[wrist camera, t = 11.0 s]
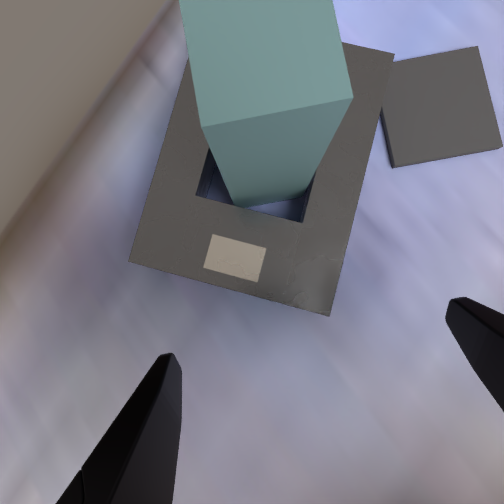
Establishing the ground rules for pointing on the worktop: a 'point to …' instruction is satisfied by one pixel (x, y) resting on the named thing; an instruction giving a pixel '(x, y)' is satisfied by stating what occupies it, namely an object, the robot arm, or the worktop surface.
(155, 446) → the robot arm
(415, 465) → the worktop surface
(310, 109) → the block
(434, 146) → the mat
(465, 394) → the worktop surface
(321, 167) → the plate
